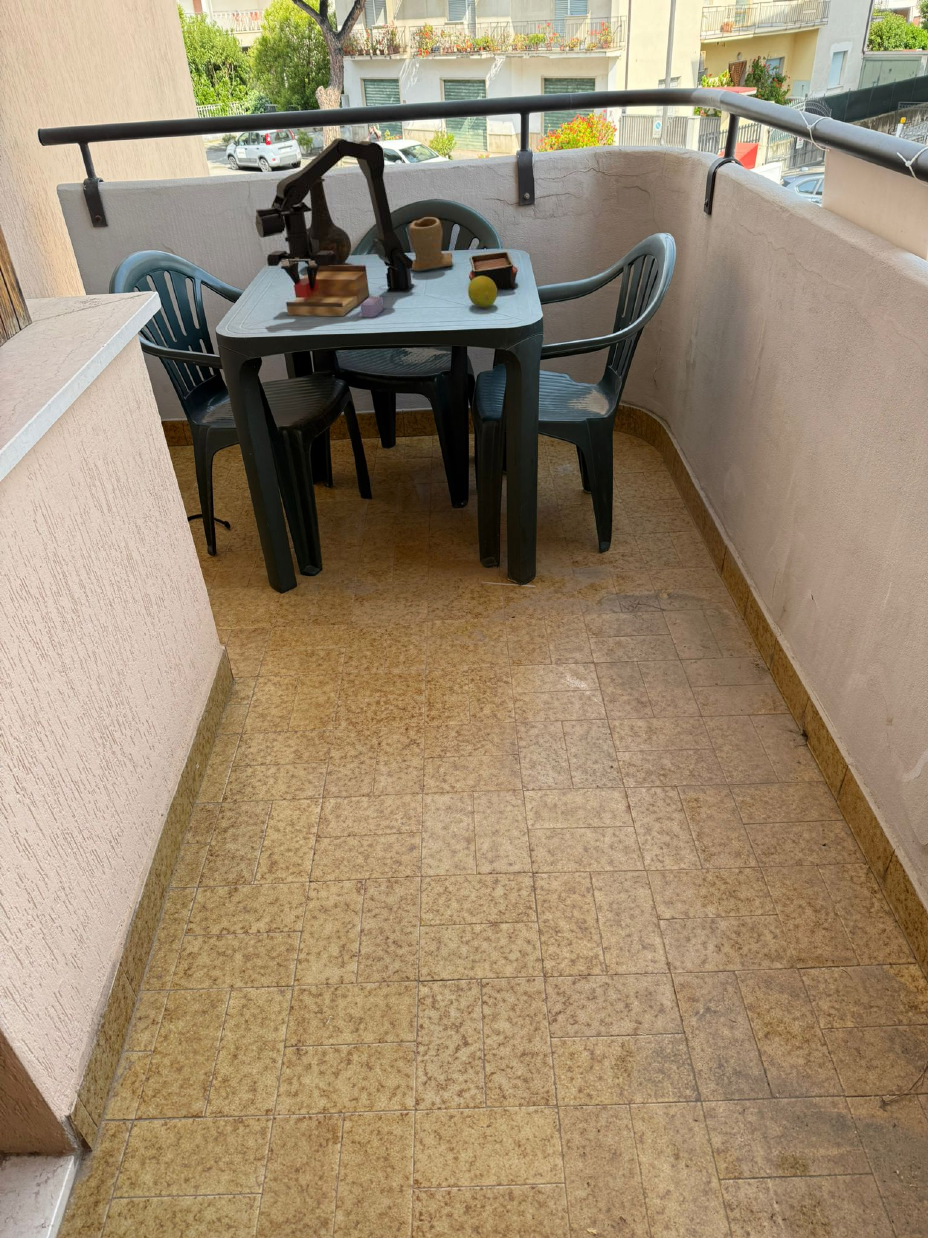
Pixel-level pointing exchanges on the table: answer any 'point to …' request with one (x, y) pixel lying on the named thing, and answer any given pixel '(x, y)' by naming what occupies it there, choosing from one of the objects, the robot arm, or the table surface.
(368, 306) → the lilac nougat bar
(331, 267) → the pine rack
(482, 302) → the lemon
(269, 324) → the table surface
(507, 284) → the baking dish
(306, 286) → the red nougat bar
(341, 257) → the glass bottle
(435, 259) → the tan hollow boot-shaped piece
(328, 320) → the table surface
